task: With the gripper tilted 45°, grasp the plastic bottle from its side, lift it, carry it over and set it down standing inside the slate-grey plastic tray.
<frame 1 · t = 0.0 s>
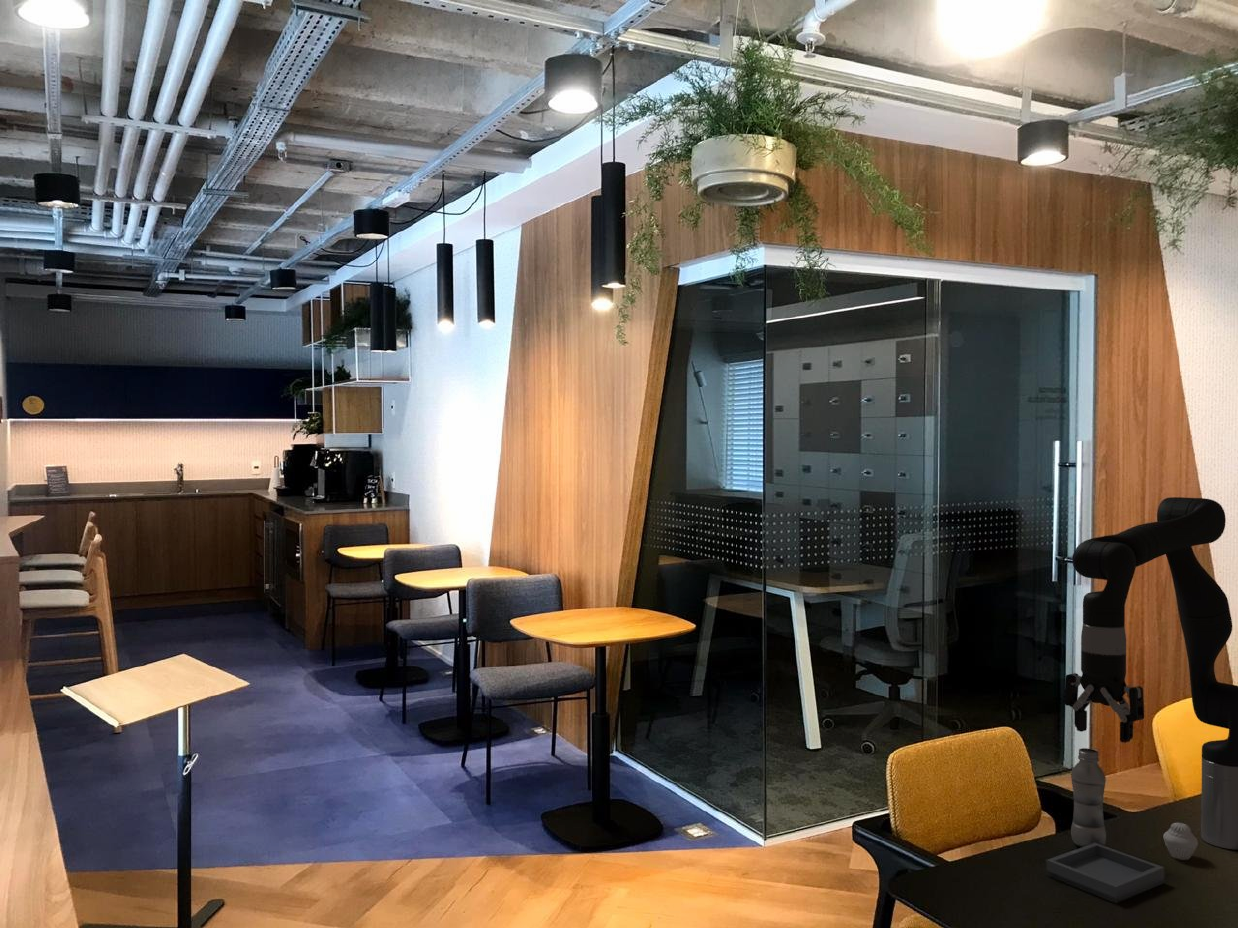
hand: (1102, 735, 183), 29 cm above the table, tool pointing down, fingers open, 8 cm apart
plastic bottle: (1088, 847, 205), on the table
muffin: (1180, 857, 200), on the table
tray: (1104, 879, 189), on the table
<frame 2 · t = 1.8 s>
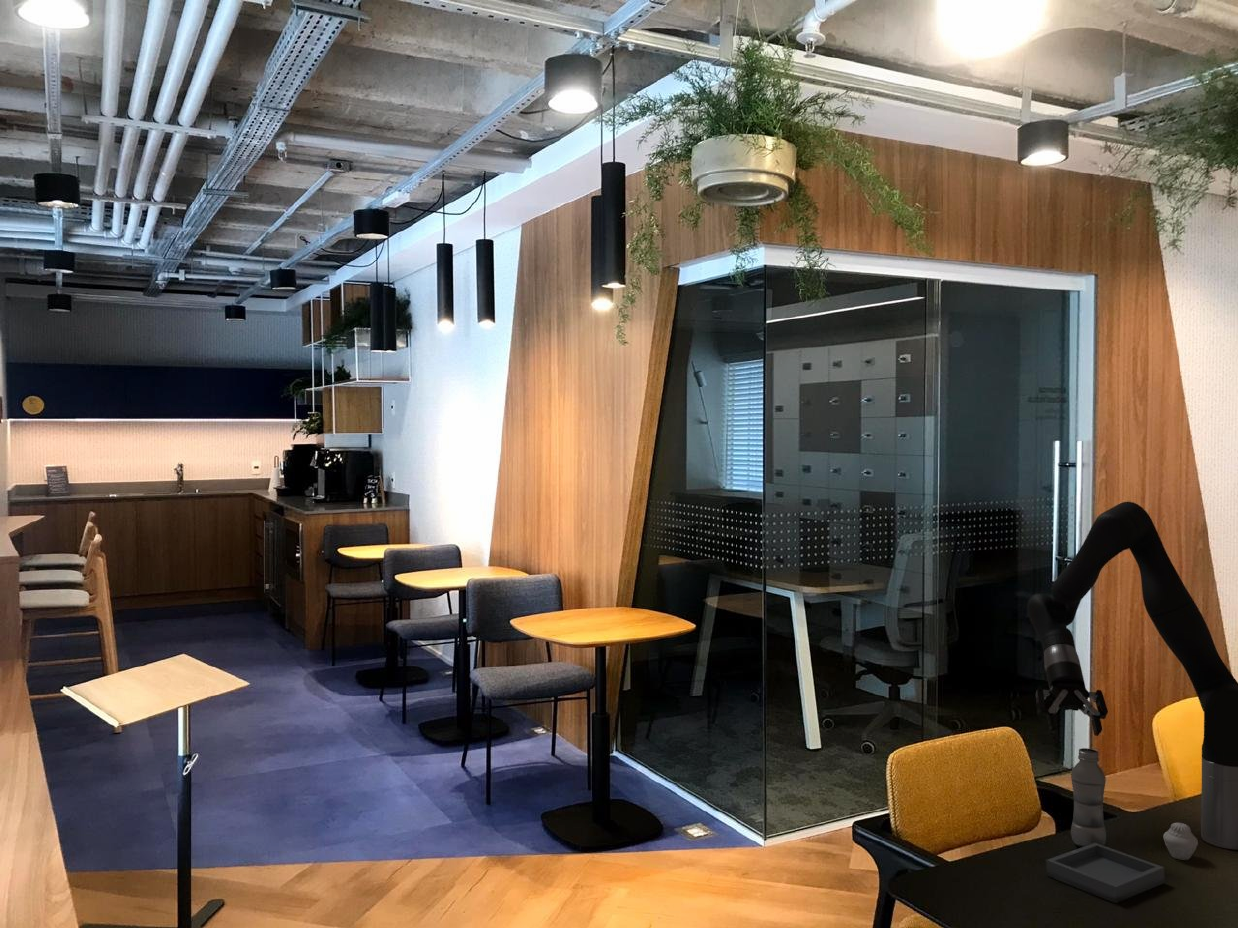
hand: (1076, 732, 215), 21 cm above the table, tool tilted 45°, fingers open, 8 cm apart
nothing on the table moved.
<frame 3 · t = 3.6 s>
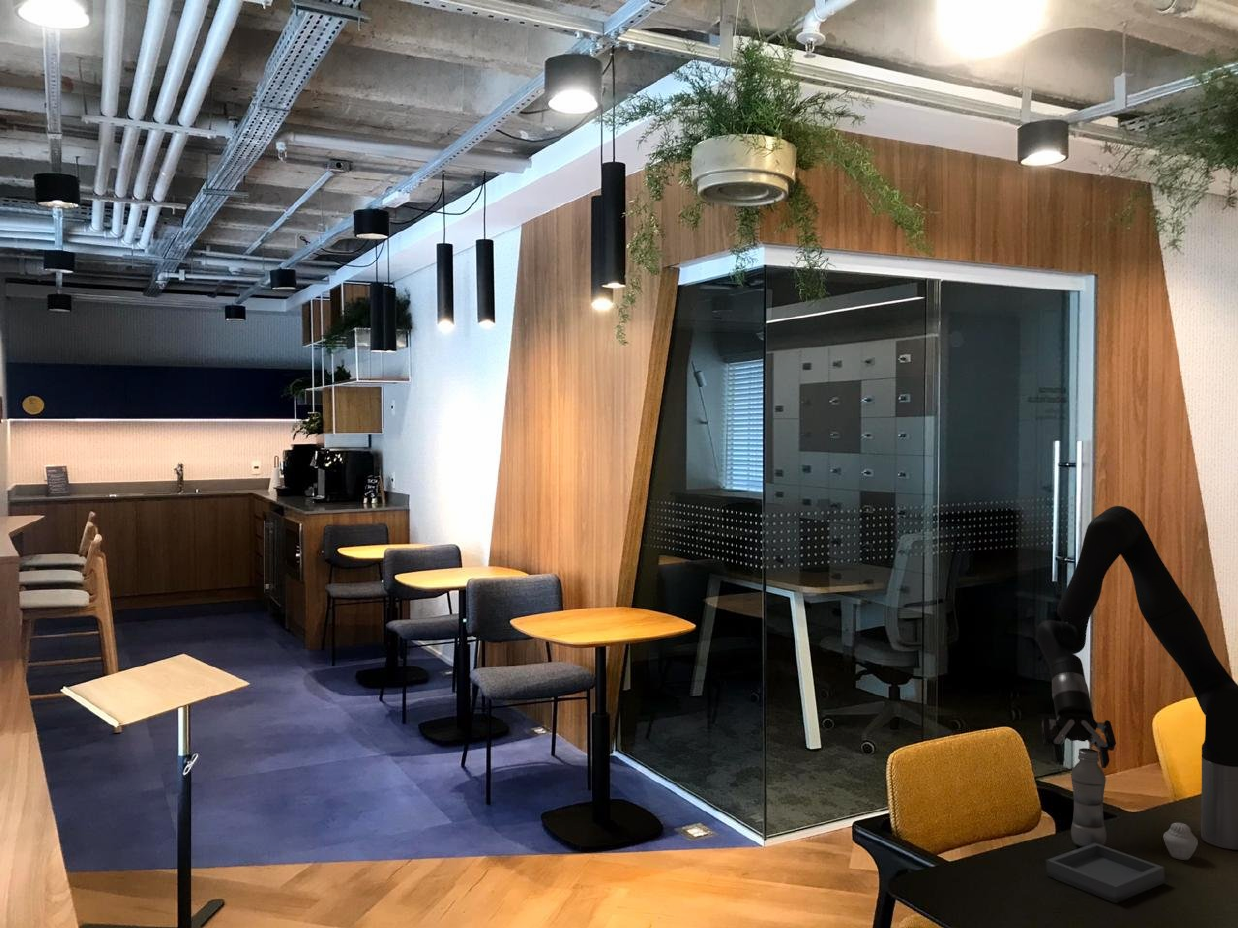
hand: (1082, 764, 209), 16 cm above the table, tool tilted 45°, fingers open, 8 cm apart
nothing on the table moved.
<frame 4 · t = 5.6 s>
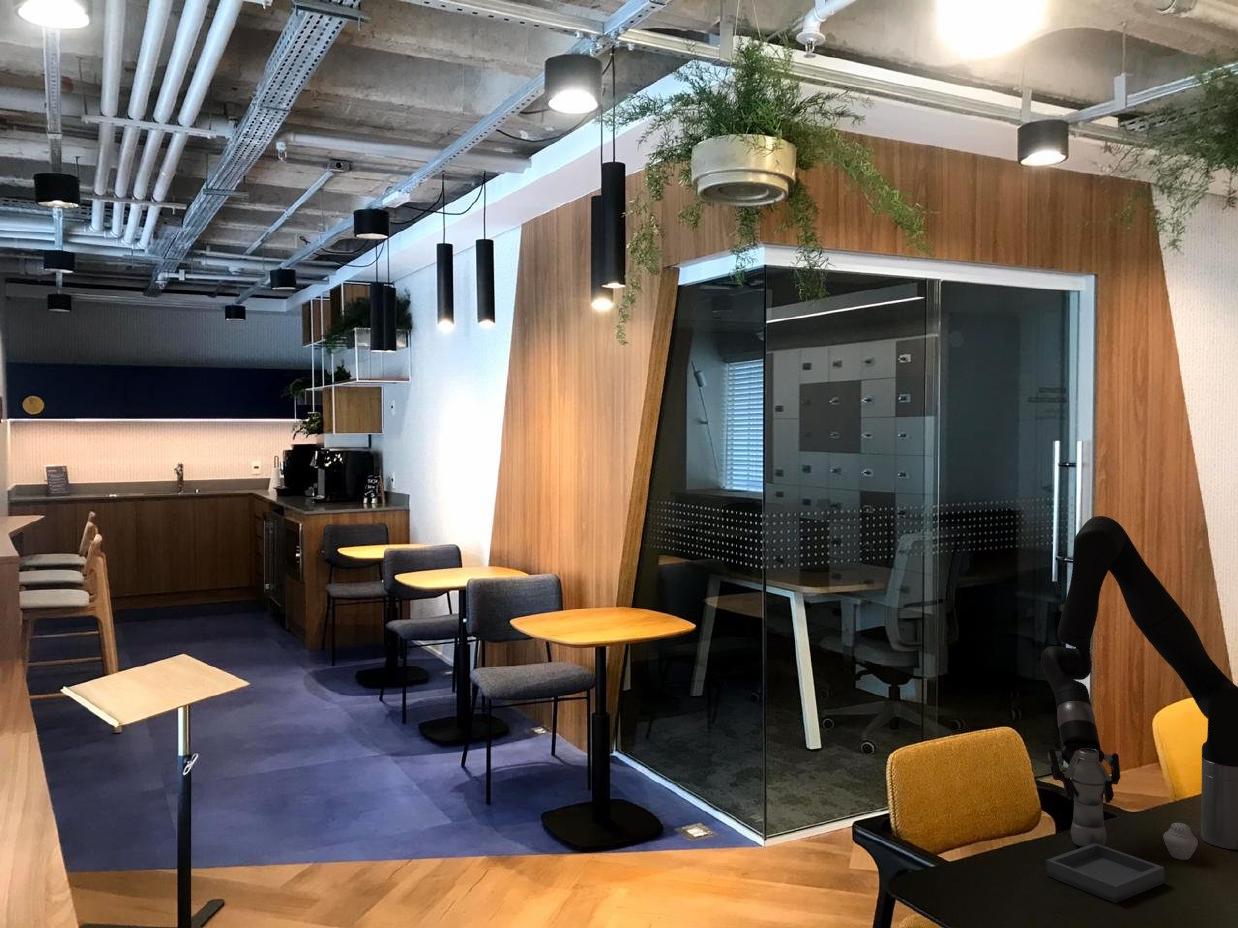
hand: (1090, 799, 203), 10 cm above the table, tool tilted 45°, fingers closed on plastic bottle, 6 cm apart
plastic bottle: (1088, 847, 205), on the table, touching gripper
everything else where it was.
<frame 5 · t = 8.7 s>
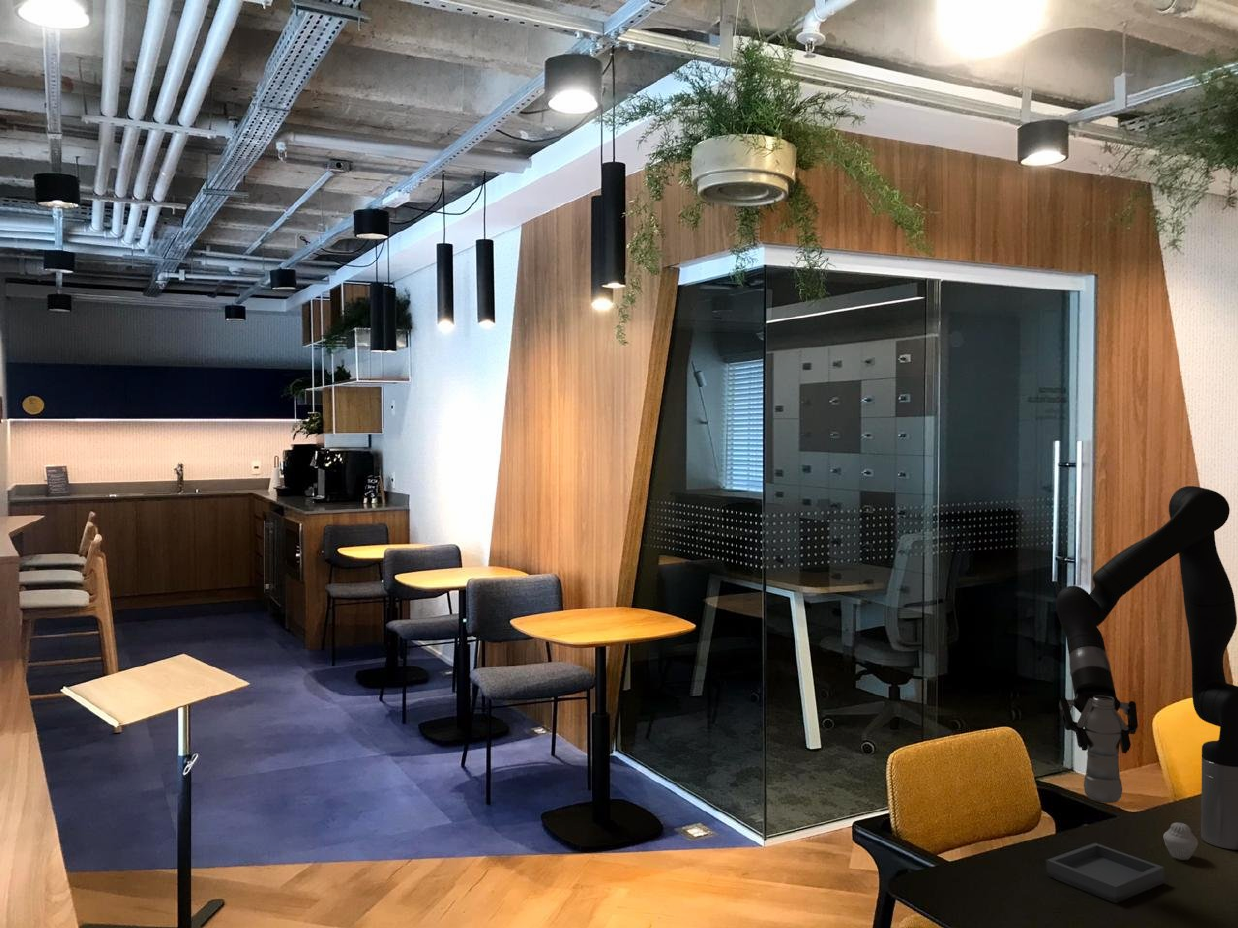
hand: (1105, 749, 188), 25 cm above the table, tool tilted 45°, fingers closed on plastic bottle, 6 cm apart
plastic bottle: (1102, 801, 190), point 15 cm above the table, touching gripper
everything else where it was.
when the fingers open (13 cm above the table, at t = 11.8 s): plastic bottle drops 1 cm, resting on tray.
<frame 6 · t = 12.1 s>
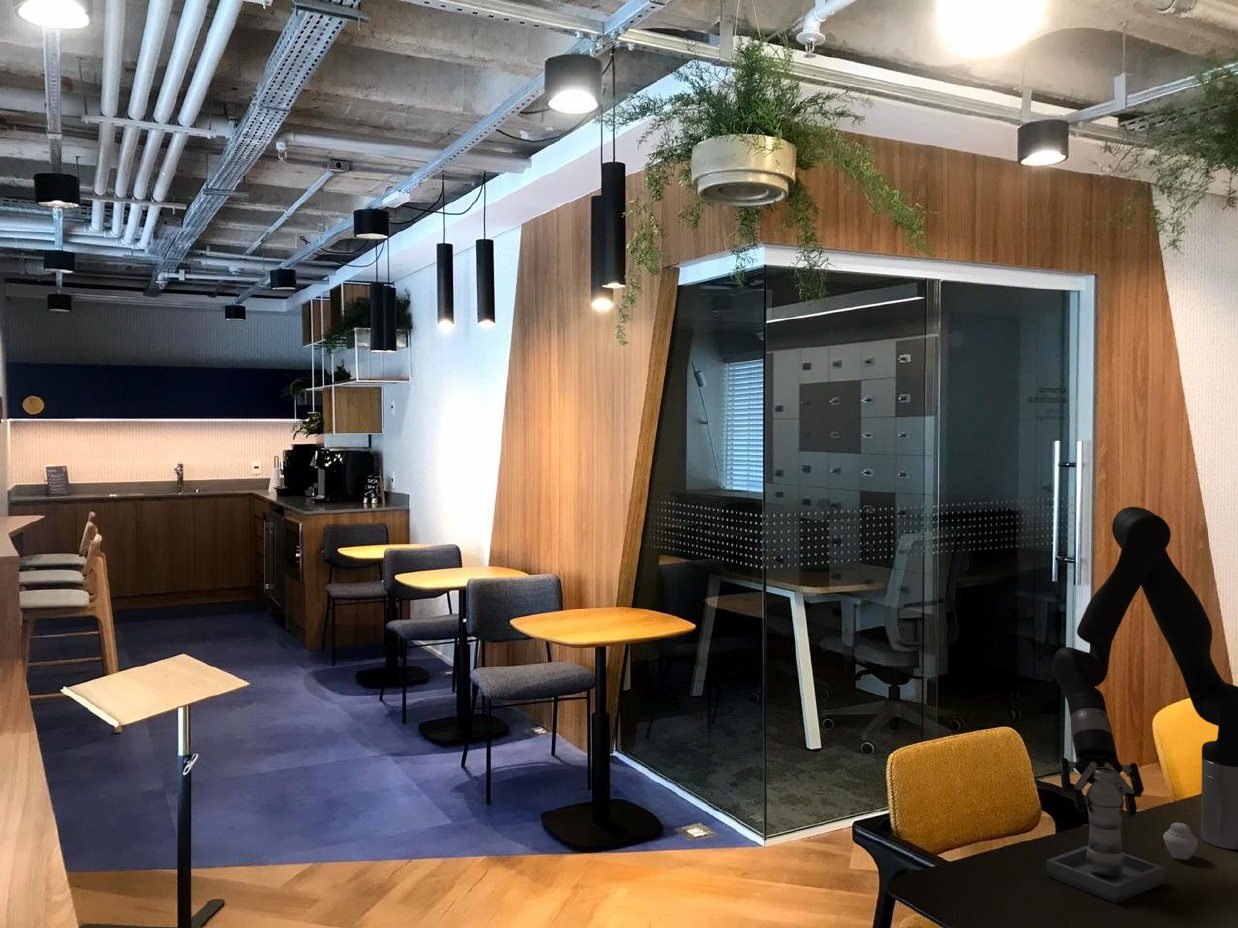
hand: (1107, 813, 188), 13 cm above the table, tool tilted 45°, fingers open, 8 cm apart
plastic bottle: (1104, 874, 189), point 1 cm above the table, touching tray
everything else where it was.
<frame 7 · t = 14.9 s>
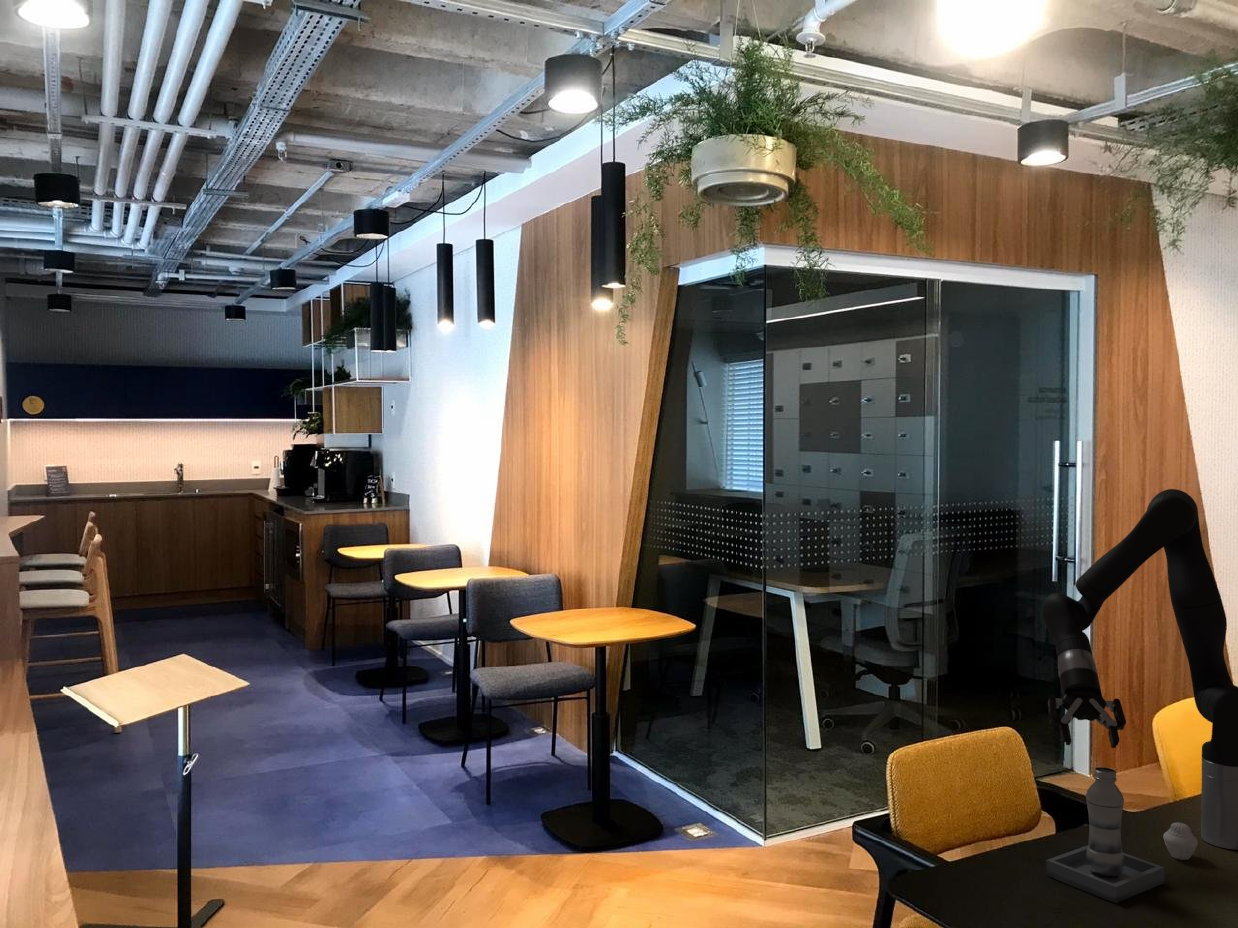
hand: (1091, 744, 200), 23 cm above the table, tool tilted 45°, fingers open, 8 cm apart
nothing on the table moved.
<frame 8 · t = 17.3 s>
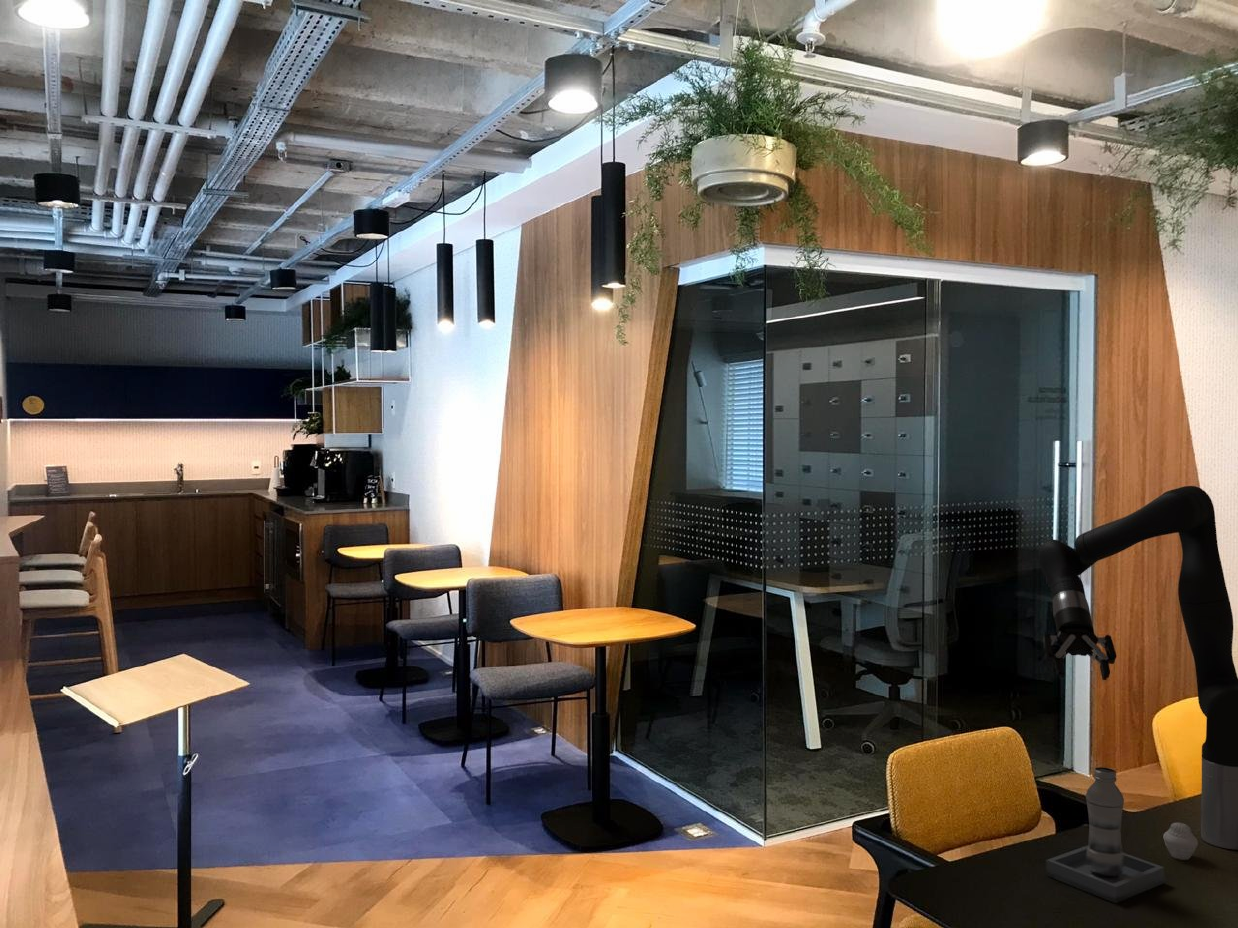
hand: (1083, 676, 212), 34 cm above the table, tool tilted 45°, fingers open, 8 cm apart
nothing on the table moved.
at the end: plastic bottle inside the target area on the tray (0.2 cm from its centre), point 0.8 cm above the tray's base; plastic bottle tilted 0°; the gripper is holding nothing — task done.
